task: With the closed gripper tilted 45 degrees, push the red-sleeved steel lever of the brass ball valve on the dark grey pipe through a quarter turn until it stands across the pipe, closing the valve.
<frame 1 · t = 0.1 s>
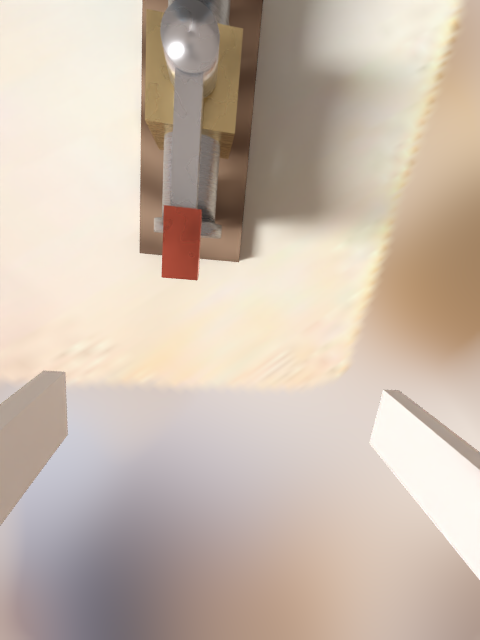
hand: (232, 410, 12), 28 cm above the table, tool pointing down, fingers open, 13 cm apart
walnut base board: (197, 136, 34), on the table
valve lever: (187, 161, 21), point 15 cm above the table, hinge at 0.0°
pipe and valve body: (195, 107, 27), on the walnut base board, point 7 cm above the table
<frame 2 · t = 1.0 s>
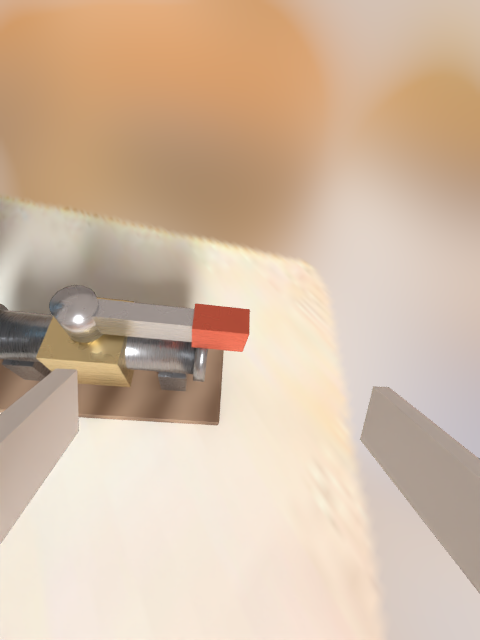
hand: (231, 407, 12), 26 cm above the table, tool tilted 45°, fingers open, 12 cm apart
walnut base board: (116, 372, 38), on the table
valve lever: (156, 322, 27), point 15 cm above the table, hinge at 0.0°
pipe and valve body: (102, 349, 32), on the walnut base board, point 7 cm above the table
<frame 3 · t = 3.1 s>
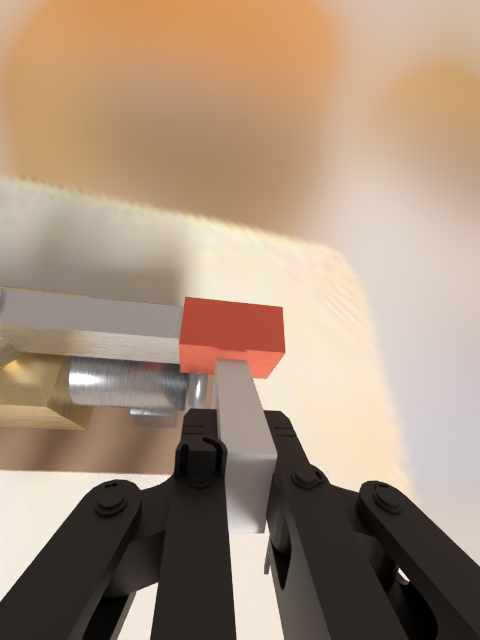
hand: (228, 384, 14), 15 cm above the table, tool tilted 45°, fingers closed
walnut base board: (75, 398, 27), on the table
valve lever: (116, 331, 15), point 15 cm above the table, hinge at 0.1°, touching gripper
pipe and valve body: (42, 371, 20), on the walnut base board, point 7 cm above the table
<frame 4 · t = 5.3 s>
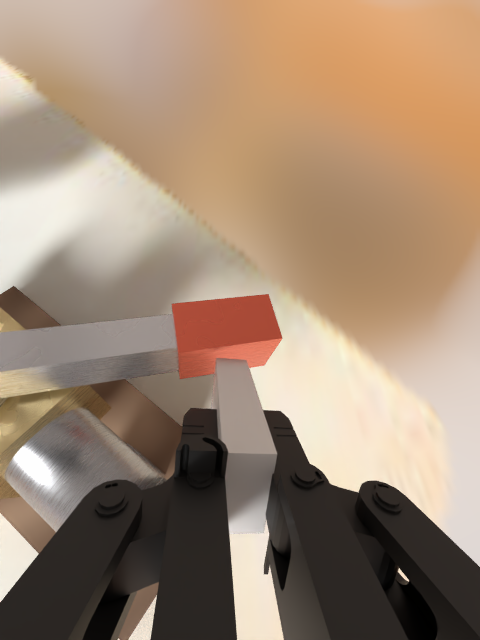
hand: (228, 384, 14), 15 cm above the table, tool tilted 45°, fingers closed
walnut base board: (65, 428, 25), on the table
valve lever: (106, 353, 14), point 15 cm above the table, hinge at 48.8°, touching gripper
pipe and valve body: (26, 411, 19), on the walnut base board, point 7 cm above the table
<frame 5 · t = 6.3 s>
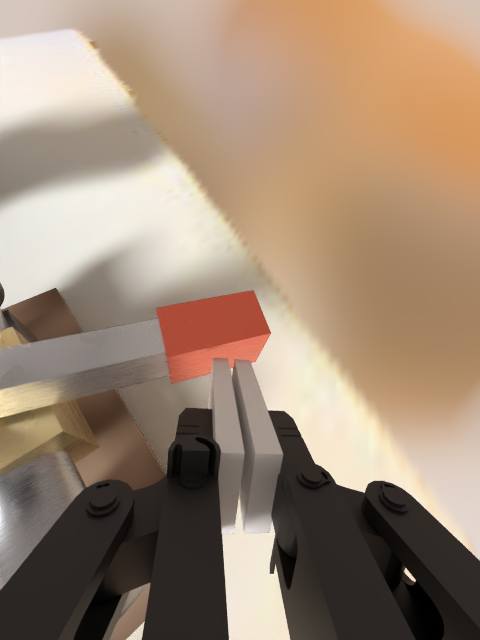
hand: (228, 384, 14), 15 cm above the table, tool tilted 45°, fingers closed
walnut base board: (58, 445, 25), on the table
valve lever: (92, 364, 14), point 15 cm above the table, hinge at 70.5°, touching gripper
pipe and valve body: (14, 432, 18), on the walnut base board, point 7 cm above the table
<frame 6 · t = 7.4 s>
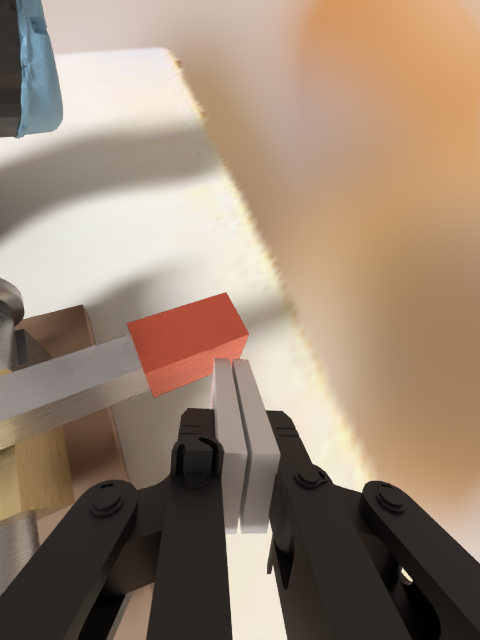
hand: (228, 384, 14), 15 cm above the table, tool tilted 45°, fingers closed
walnut base board: (43, 475, 23), on the table
valve lever: (65, 391, 13), point 15 cm above the table, hinge at 91.9°, touching gripper
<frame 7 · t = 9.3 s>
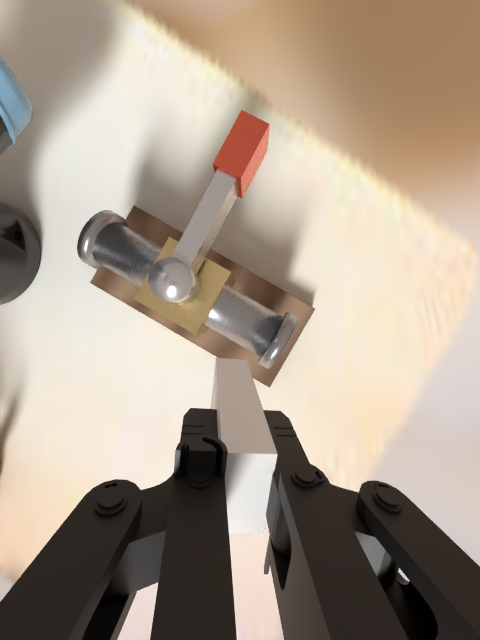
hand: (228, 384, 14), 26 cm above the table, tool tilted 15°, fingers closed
walnut base board: (203, 296, 40), on the table
valve lever: (210, 216, 25), point 15 cm above the table, hinge at 91.9°
pipe and valve body: (193, 291, 33), on the walnut base board, point 7 cm above the table
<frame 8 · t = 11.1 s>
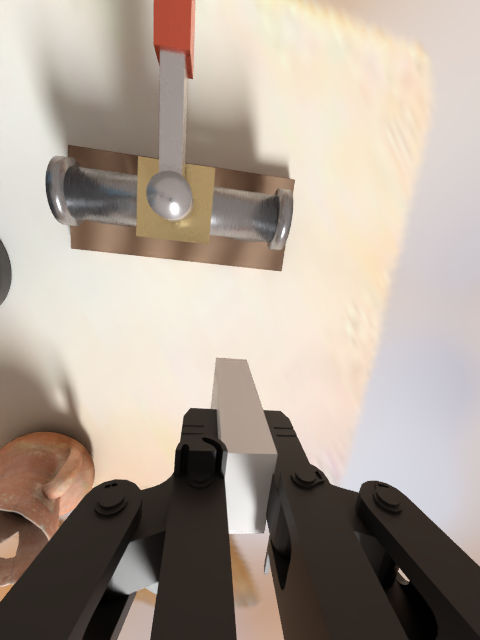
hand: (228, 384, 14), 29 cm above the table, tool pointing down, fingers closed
walnut base board: (185, 215, 39), on the table
valve lever: (173, 112, 23), point 15 cm above the table, hinge at 91.9°
ceramic jug: (57, 458, 47), on the table
pipe and valve body: (180, 208, 32), on the walnut base board, point 7 cm above the table
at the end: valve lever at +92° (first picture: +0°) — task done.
